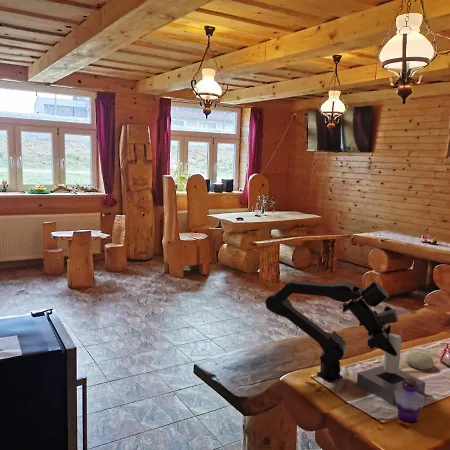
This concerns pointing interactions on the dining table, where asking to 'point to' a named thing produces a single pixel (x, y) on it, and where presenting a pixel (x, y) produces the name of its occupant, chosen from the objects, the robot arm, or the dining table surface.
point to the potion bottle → (409, 401)
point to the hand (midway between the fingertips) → (396, 352)
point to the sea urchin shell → (419, 360)
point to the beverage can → (389, 360)
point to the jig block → (386, 382)
